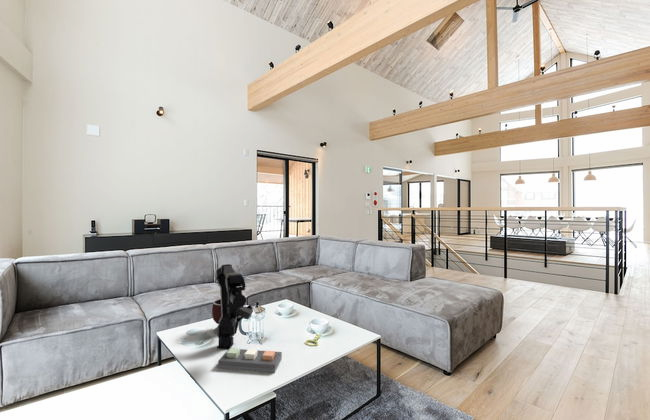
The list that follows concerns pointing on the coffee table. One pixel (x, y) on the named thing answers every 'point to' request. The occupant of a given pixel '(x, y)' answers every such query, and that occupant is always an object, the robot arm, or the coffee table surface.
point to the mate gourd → (216, 312)
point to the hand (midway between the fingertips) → (233, 334)
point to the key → (313, 341)
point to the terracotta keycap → (269, 355)
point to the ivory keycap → (251, 354)
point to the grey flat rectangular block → (250, 362)
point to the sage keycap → (233, 353)
